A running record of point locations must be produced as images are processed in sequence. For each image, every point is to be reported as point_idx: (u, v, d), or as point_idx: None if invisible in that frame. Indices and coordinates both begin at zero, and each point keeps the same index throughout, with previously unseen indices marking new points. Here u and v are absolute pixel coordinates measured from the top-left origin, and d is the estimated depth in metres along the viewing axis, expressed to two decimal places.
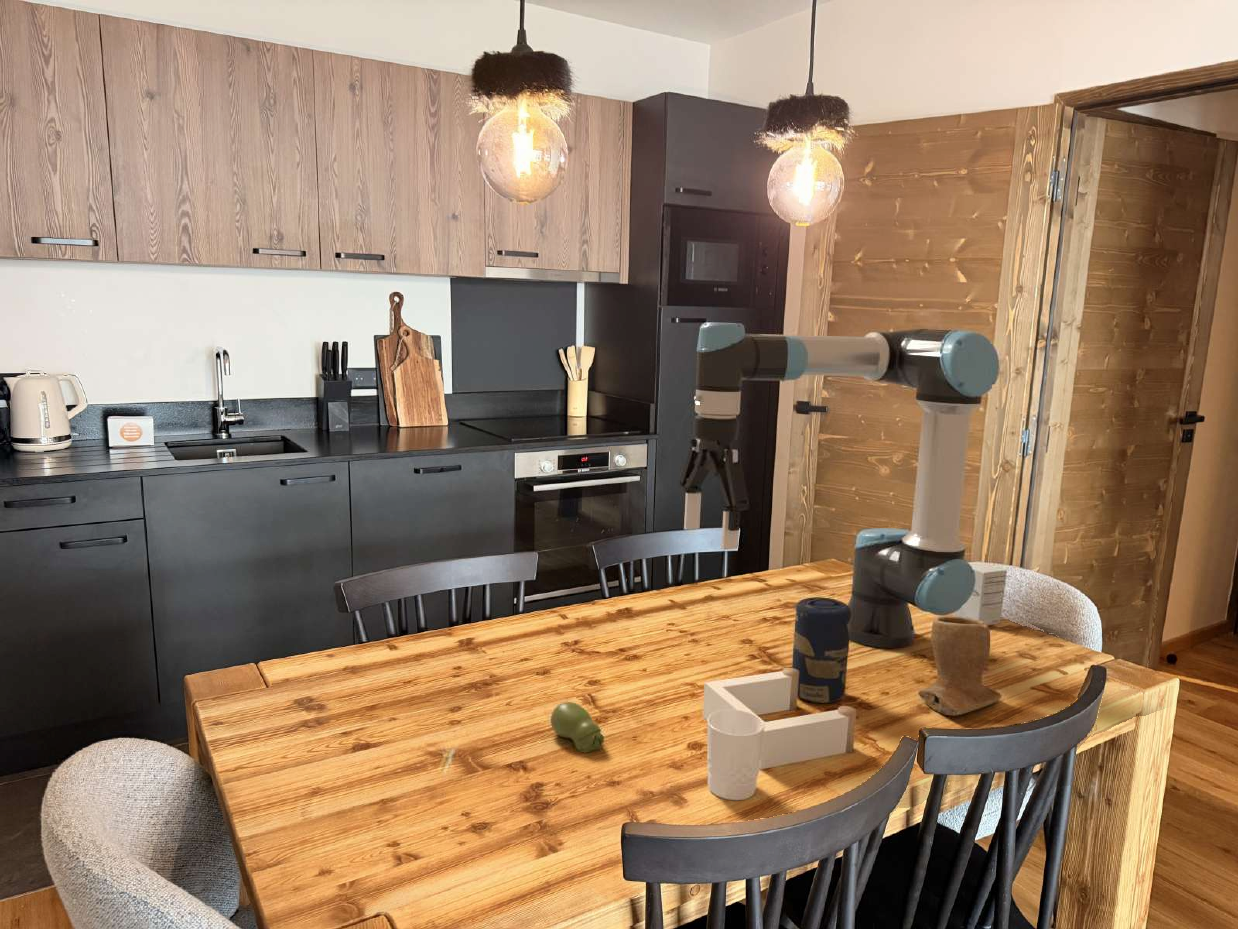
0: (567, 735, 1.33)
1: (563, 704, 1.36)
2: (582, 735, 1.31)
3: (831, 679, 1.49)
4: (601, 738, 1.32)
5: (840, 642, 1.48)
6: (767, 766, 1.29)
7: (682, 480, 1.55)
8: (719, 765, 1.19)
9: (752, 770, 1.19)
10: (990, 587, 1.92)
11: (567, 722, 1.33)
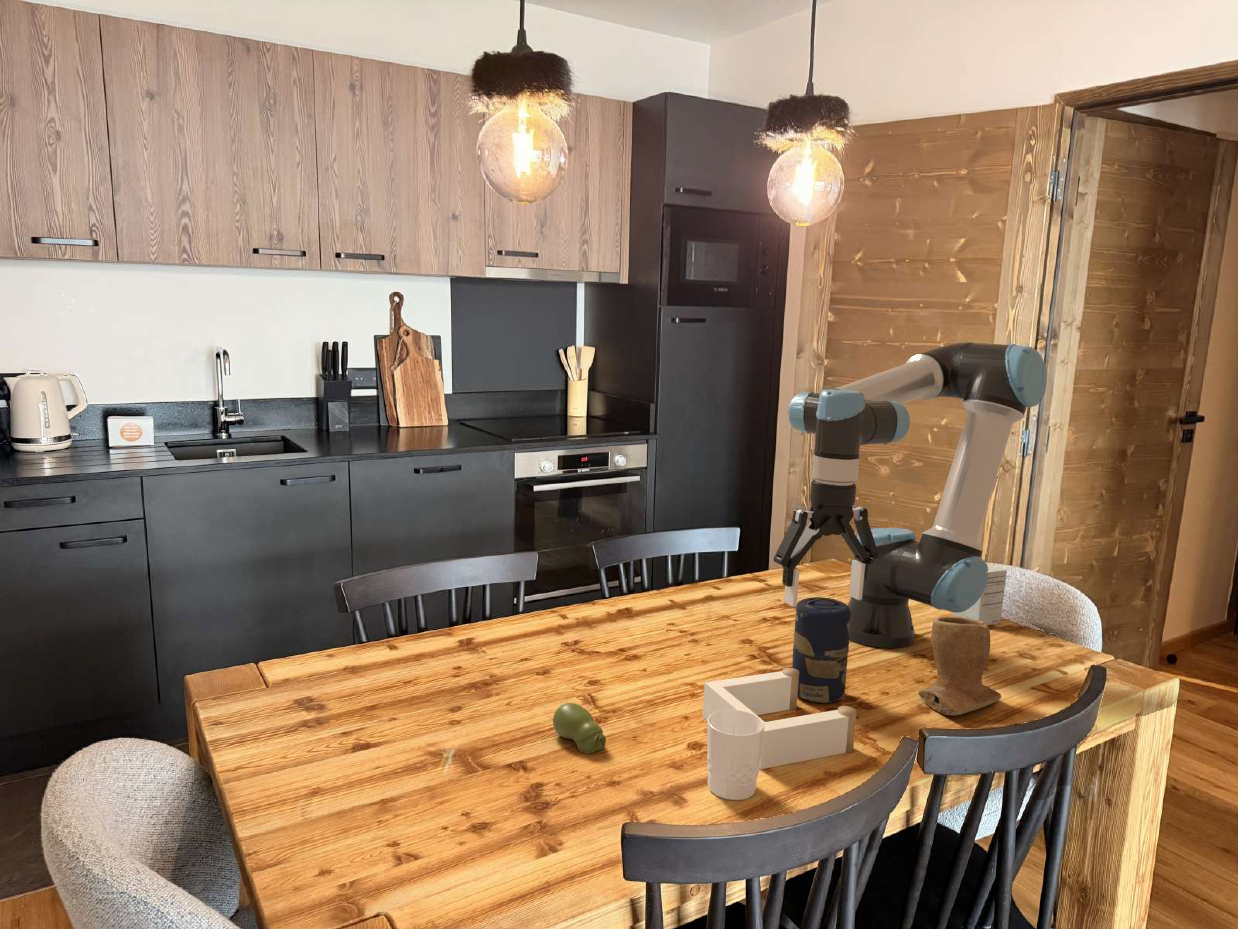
0: (569, 736, 1.33)
1: (565, 704, 1.36)
2: (584, 736, 1.31)
3: (831, 679, 1.49)
4: (603, 739, 1.31)
5: (840, 642, 1.48)
6: (767, 766, 1.29)
7: (865, 548, 1.54)
8: (719, 765, 1.19)
9: (752, 770, 1.19)
10: (990, 588, 1.92)
11: (569, 723, 1.32)
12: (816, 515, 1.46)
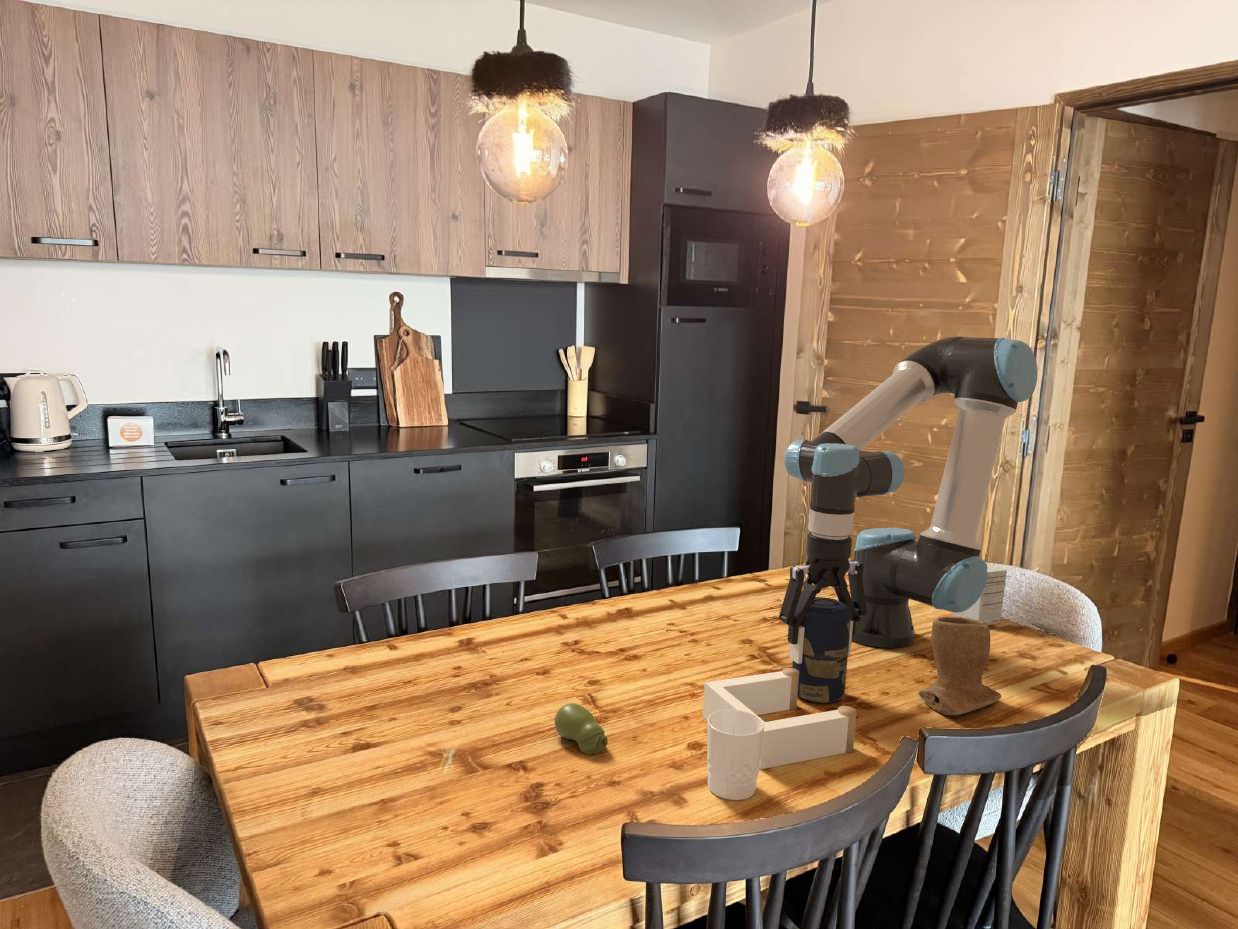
0: (571, 737, 1.32)
1: (567, 705, 1.35)
2: (586, 737, 1.30)
3: (831, 679, 1.49)
4: (605, 740, 1.31)
5: (840, 642, 1.48)
6: (767, 766, 1.29)
7: (853, 604, 1.56)
8: (719, 764, 1.19)
9: (752, 770, 1.19)
10: (990, 587, 1.92)
11: (571, 723, 1.32)
12: (812, 569, 1.48)
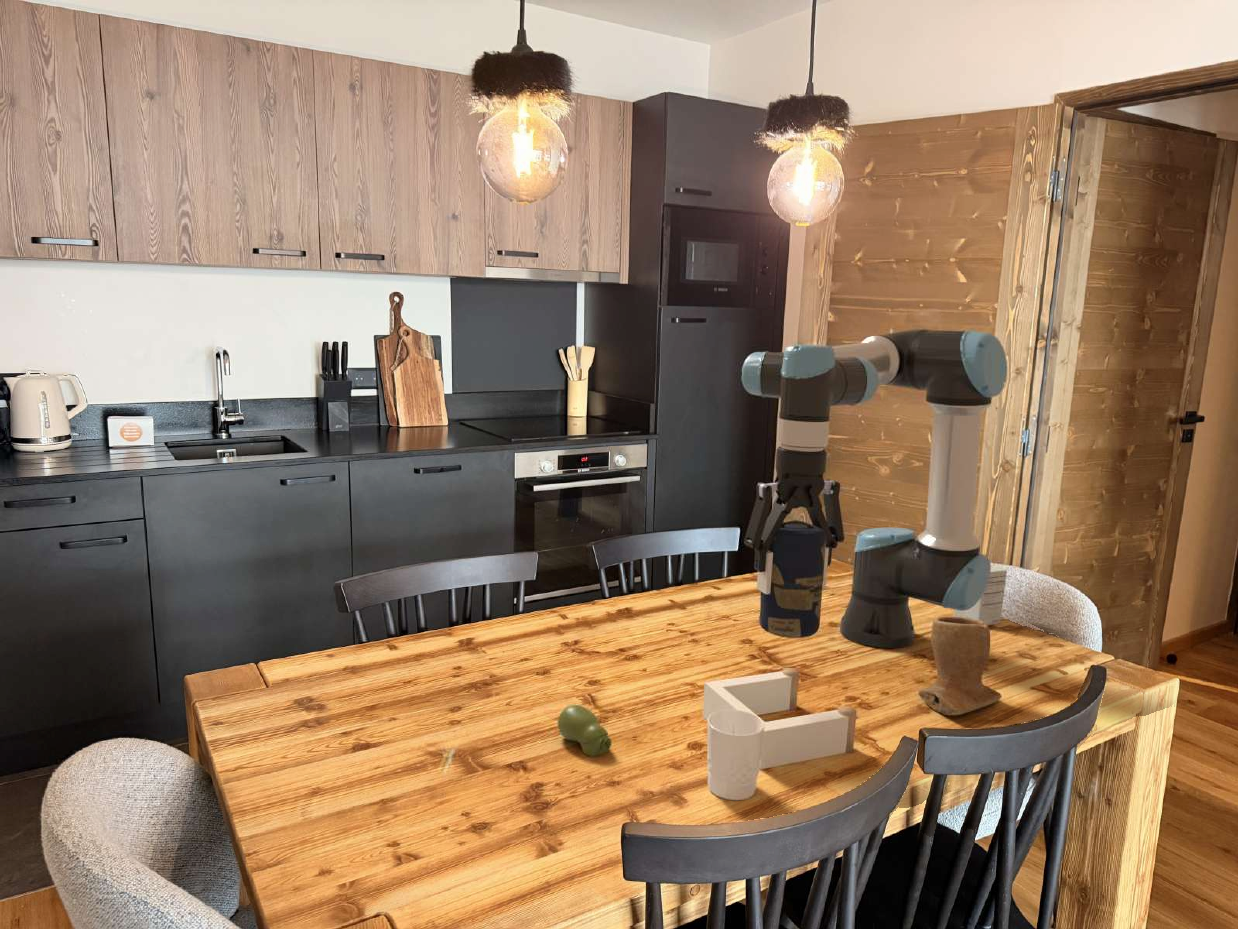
0: (574, 738, 1.32)
1: (570, 707, 1.35)
2: (589, 739, 1.30)
3: (803, 610, 1.31)
4: (608, 742, 1.31)
5: (813, 569, 1.31)
6: (767, 766, 1.29)
7: (830, 530, 1.38)
8: (719, 764, 1.19)
9: (752, 770, 1.19)
10: (990, 587, 1.92)
11: (574, 725, 1.32)
12: (782, 486, 1.31)
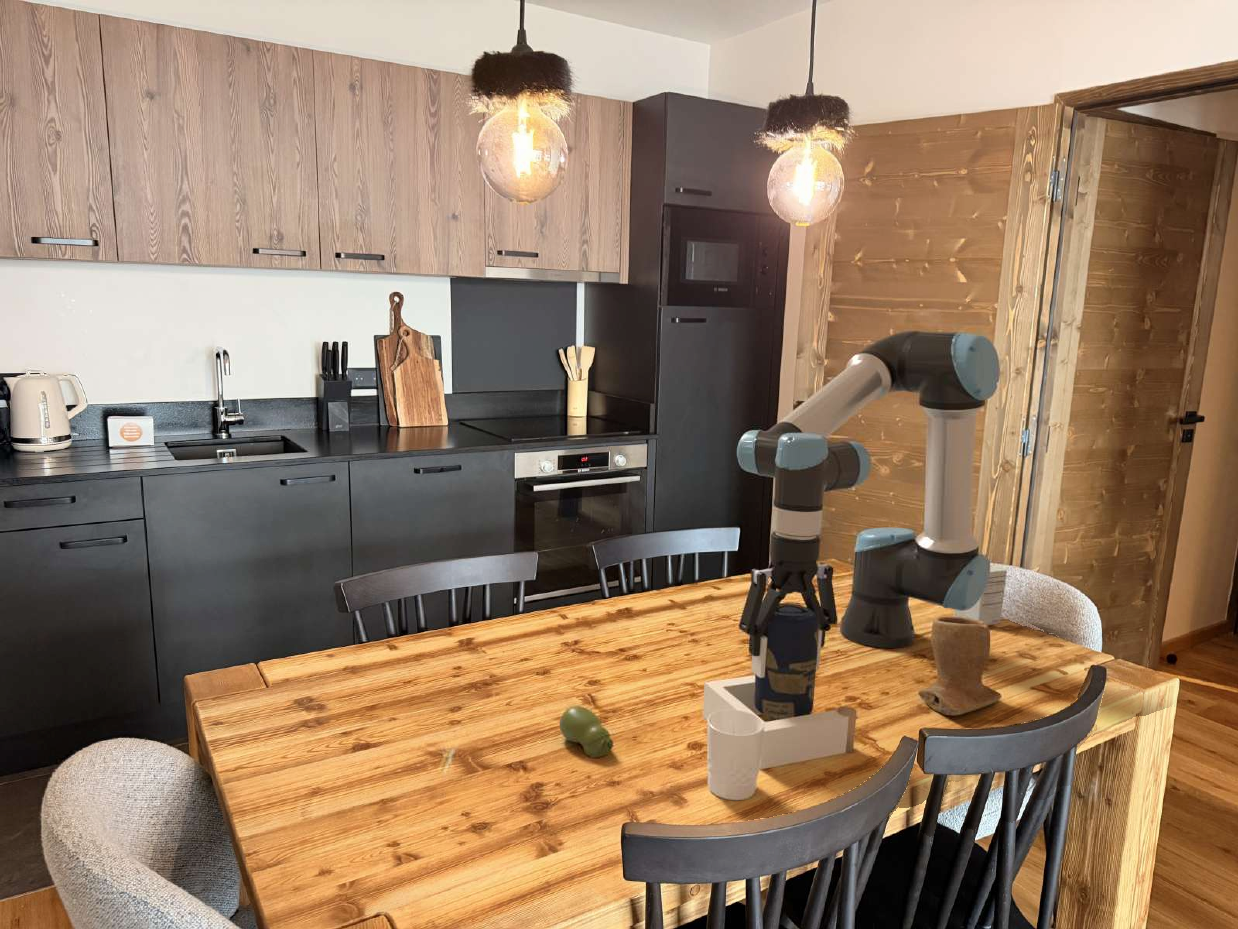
0: (576, 740, 1.32)
1: (572, 708, 1.34)
2: (591, 740, 1.30)
3: (796, 694, 1.34)
4: (610, 743, 1.30)
5: (807, 654, 1.33)
6: (767, 766, 1.29)
7: None
8: (719, 765, 1.19)
9: (752, 770, 1.19)
10: (990, 587, 1.92)
11: (576, 726, 1.31)
12: (776, 573, 1.33)
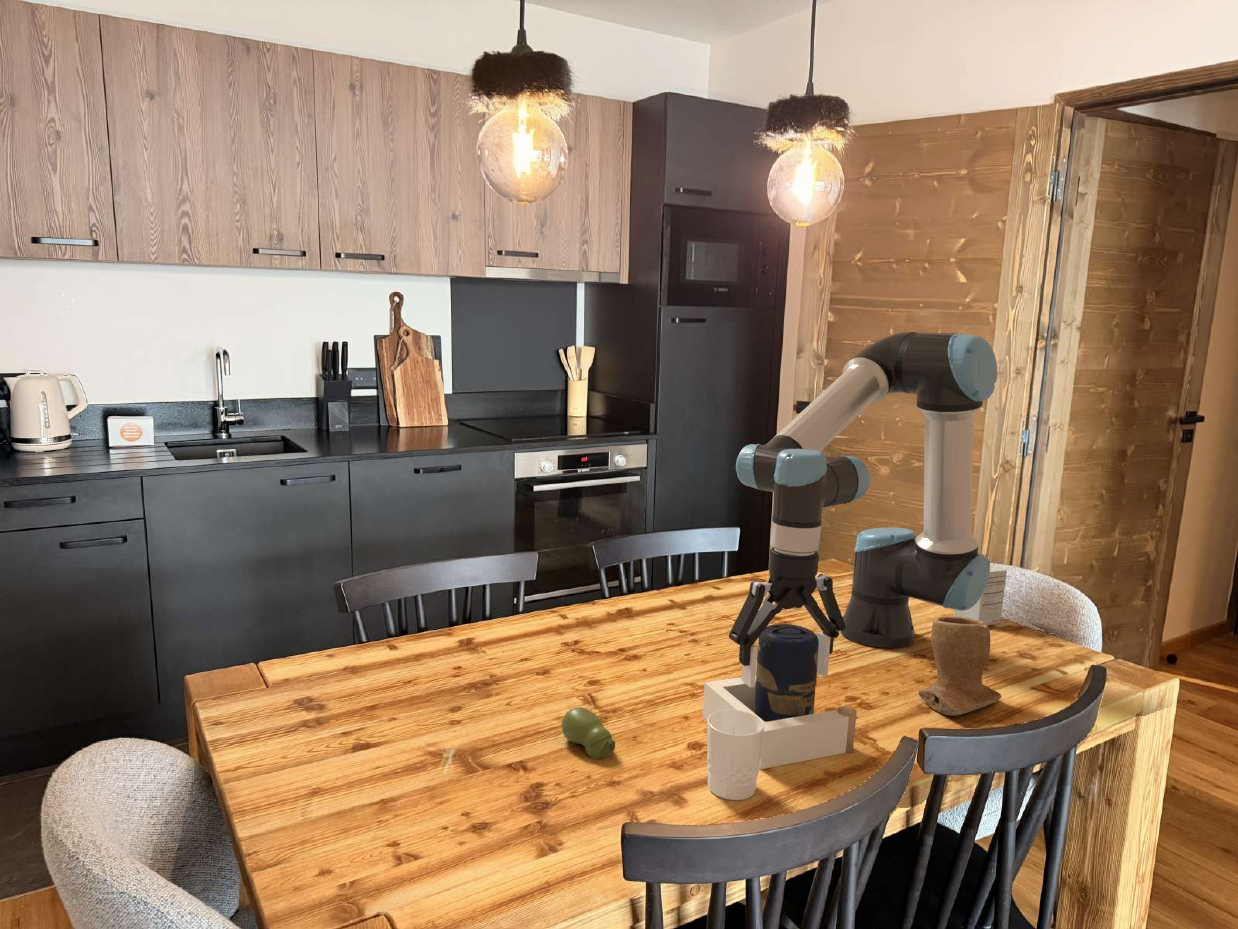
0: (578, 741, 1.31)
1: (574, 709, 1.34)
2: (593, 741, 1.29)
3: (796, 716, 1.35)
4: (612, 744, 1.30)
5: (806, 675, 1.34)
6: (767, 766, 1.29)
7: None
8: (719, 765, 1.19)
9: (752, 770, 1.19)
10: (989, 587, 1.92)
11: (578, 727, 1.31)
12: (775, 588, 1.33)
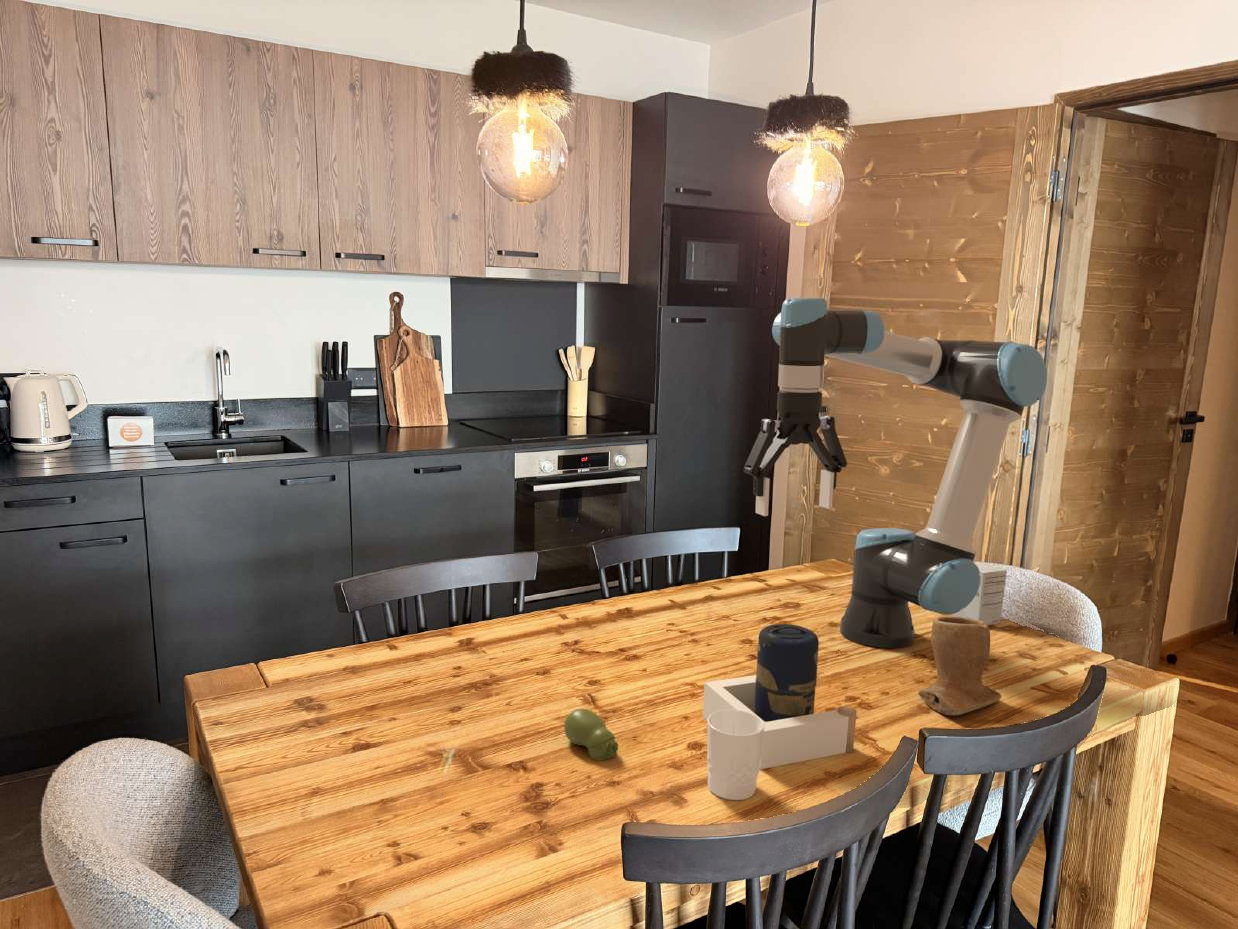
0: (581, 742, 1.31)
1: (577, 710, 1.34)
2: (596, 743, 1.29)
3: (796, 716, 1.35)
4: (615, 746, 1.29)
5: (806, 675, 1.34)
6: (767, 766, 1.29)
7: (833, 458, 1.55)
8: (719, 765, 1.19)
9: (752, 770, 1.19)
10: (989, 587, 1.92)
11: (581, 729, 1.31)
12: (784, 424, 1.47)
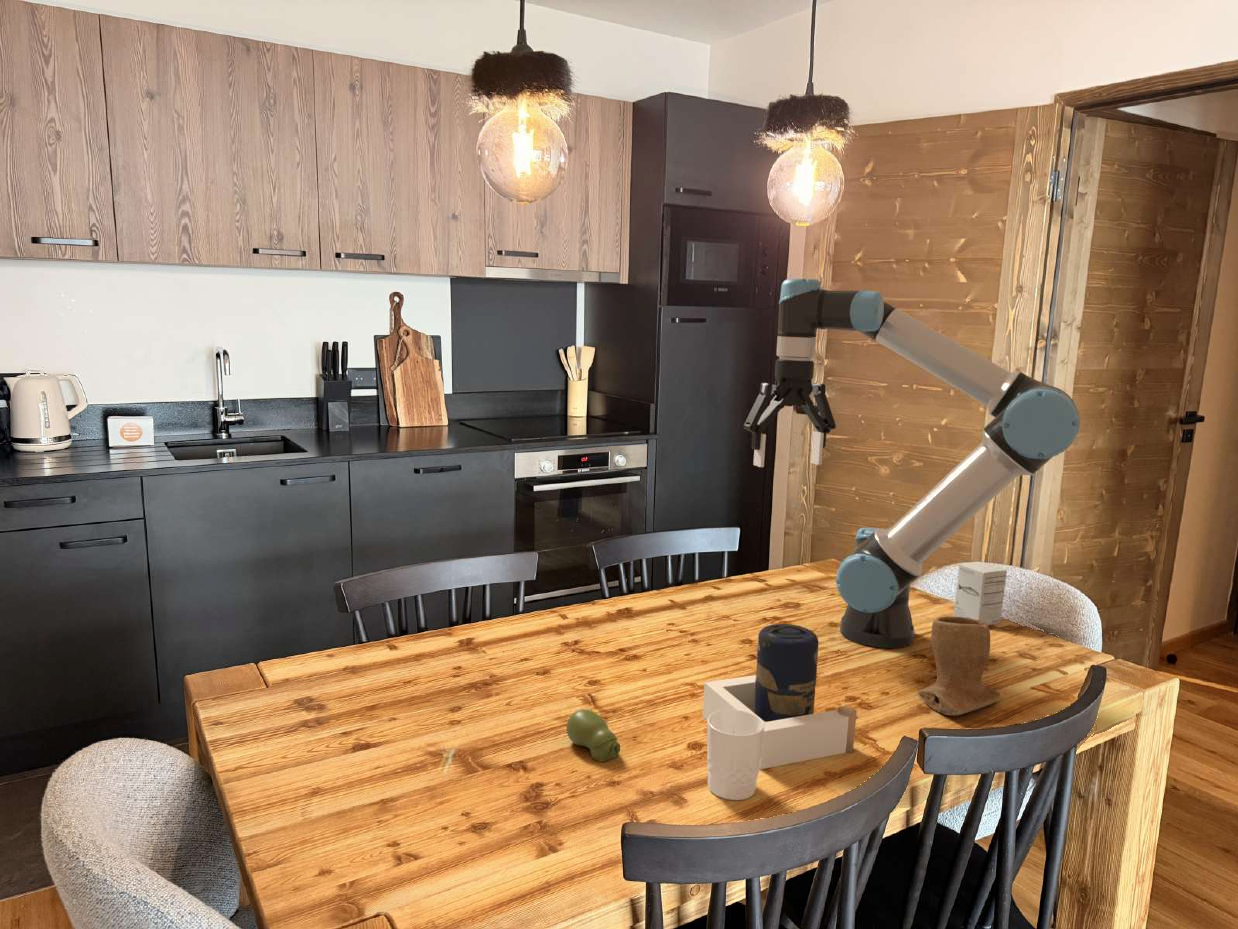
0: (583, 743, 1.30)
1: (579, 711, 1.33)
2: (598, 744, 1.28)
3: (796, 715, 1.35)
4: (617, 747, 1.29)
5: (806, 675, 1.34)
6: (767, 766, 1.29)
7: (824, 421, 1.78)
8: (719, 765, 1.19)
9: (752, 770, 1.19)
10: (990, 587, 1.92)
11: (583, 730, 1.30)
12: (780, 387, 1.70)
